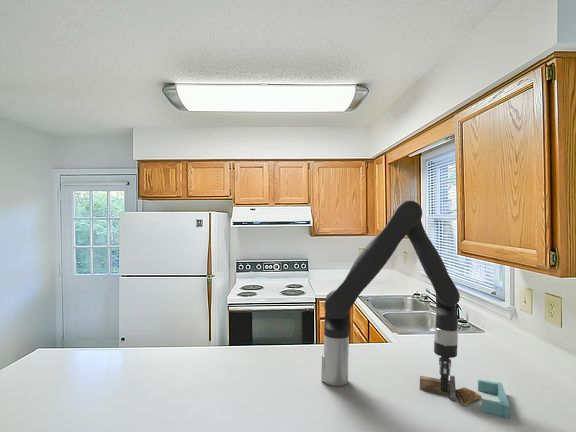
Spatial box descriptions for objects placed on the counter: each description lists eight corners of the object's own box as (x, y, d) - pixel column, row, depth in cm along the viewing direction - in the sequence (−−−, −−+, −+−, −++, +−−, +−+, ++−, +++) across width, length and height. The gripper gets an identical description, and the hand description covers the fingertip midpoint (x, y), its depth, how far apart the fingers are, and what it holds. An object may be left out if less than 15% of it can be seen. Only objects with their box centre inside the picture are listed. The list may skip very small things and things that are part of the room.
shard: (464, 408, 120) (464, 402, 120) (443, 398, 126) (443, 393, 126) (482, 399, 126) (482, 394, 126) (461, 390, 132) (461, 385, 132)
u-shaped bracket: (482, 412, 116) (482, 401, 116) (477, 388, 133) (478, 378, 133) (509, 418, 113) (509, 406, 113) (501, 392, 130) (501, 382, 130)
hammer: (419, 394, 128) (419, 381, 128) (420, 382, 137) (420, 370, 137) (455, 401, 123) (455, 387, 123) (454, 388, 132) (454, 376, 132)
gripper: (434, 333, 137) (433, 379, 137) (433, 345, 124) (432, 396, 124) (456, 336, 134) (455, 383, 134) (458, 349, 121) (456, 401, 121)
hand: (444, 389), depth 129 cm, fingers closed on hammer, 2 cm apart
